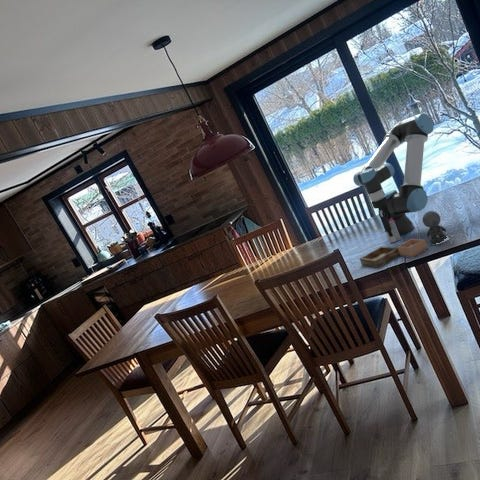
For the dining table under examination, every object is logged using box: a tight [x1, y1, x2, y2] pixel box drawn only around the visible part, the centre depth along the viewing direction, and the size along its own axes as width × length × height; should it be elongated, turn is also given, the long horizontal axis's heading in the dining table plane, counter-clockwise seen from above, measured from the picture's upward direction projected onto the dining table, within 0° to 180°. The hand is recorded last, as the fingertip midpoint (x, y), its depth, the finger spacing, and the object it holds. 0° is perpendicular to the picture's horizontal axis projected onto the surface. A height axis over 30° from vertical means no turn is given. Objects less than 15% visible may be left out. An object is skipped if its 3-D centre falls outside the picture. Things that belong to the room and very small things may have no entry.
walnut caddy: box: [359, 245, 400, 268], centre depth 218 cm, size 14×14×4 cm
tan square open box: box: [396, 238, 428, 259], centre depth 208 cm, size 9×9×5 cm
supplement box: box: [385, 218, 402, 245], centre depth 225 cm, size 6×6×12 cm
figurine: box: [422, 210, 447, 244], centre depth 207 cm, size 9×10×15 cm
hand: (394, 238), depth 226 cm, fingers closed on supplement box, 7 cm apart
